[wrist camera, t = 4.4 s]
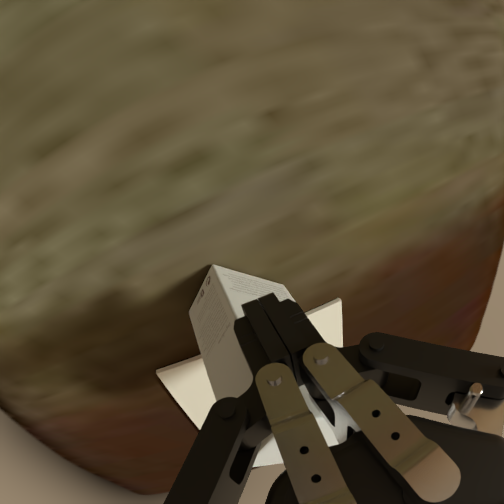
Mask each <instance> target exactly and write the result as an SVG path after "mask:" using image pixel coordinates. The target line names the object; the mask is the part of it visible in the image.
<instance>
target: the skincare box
mask: <svg viewBox="0 0 504 504" xmlns="http://www.w3.org/2000/svg"><path fill="white" fill-rule="evenodd" d="M272 292H273V293H274V294H275V295H276V297H277V298H278V300H279V301H280V302H281V301H283V300H286V299H290V300H292V301H294V302H295V300H294V299H293V298H292V296H291V295H290V293H289V292H288V291H287V289H286V288H285V287H284V285H282V284H279V283H275V282H272V281H268V280H265V279H261V278H258V277H254V276H251V275H247V274H244V273H240V272H237V271H234V270H230V269H227V268H223V267H220V266H217V265H212V266H211V268H210V270H209V272H208V274H207V276H206V278H205V280H204V282H203V284H202V286H201V288H200V290H199V292H198V294H197V296H196V298H195V300H194V302H193V304H192V306H191V308H190V310H189V316H190V319H191V322H192V326H193V329H194V333H195V336H196V339H197V343H198V346H199V349H200V352H201V356H202V359H203V362H204V365H205V368H206V371H207V375H208V378H209V381H210V384H211V387H212V390H213V393H214V396H215V399H216V401H218V400H220V399H222V398H225V397H235V398H238V397H239V396H240V395H242V394H243V393H244V392H246V391H247V390H248V388H249V387H250V386H251V384H252V381H253V376H252V373H251V371H250V369H249V366H248V364H247V362H246V360H245V357H244V355H243V353H242V351H241V348H240V345H239V343H238V340H237V338H236V335H235V332H234V330H233V329H234V321H235V320H236V319H238V318H241V317H244V313H243V310H242V306H241V305H242V304H244V303H247V302H250V301H252V300H255V299H257V300H258V298H259V297H262V296H264V295H267V294H269V293H272ZM299 389H300V391H301V393H302V396H303V398H304V400H305V402H306V404H307V406H308V409H309V410H310V412H312V413H313V415H314V417H315V419H316V421H317V423H318V425H319V427H320V430H321V432H322V434H323V436H324V438H325V440H326V442H327V445H328V447H329V446H333V445H338V444H339V443H338V441H337V440H336V437H335V435H334V433H333V431H332V429H331V428H330V426H329V425H328V424H327V422H326V421H325V419H324V418H323V417H322V415H321V414H320V412H319V411H318V410H317V408H316V407H315V406H314V404H313V403H312V401H311V400H310V398H309V393H308V390H307V388H306V387H305V385H302V386H300V387H299ZM280 463H284V462H283V460H282V457H281V454H280V451H279V449H278V446H277V443H276V440H275V438H274V435H273V433H271V434H270V435H269V436H268V437H267V438H265V439H264V440H263V441H262V443H261V446H260V449H259V451H258V454H257V457H256V459H255V462H254V464H253V467H257V466H265V465H273V464H280Z"/></svg>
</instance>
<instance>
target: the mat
mask: <svg viewBox="0 0 504 504" xmlns="http://www.w3.org/2000/svg"><path fill="white" fill-rule="evenodd" d="M305 314H306V316H307V317H308V319H309V320H310V321H311V323H312V324H313V325H314V327H315V328H316V329H317V331H318V332H319V334H320V335H321V336H322V338H323V339H324V340H325V341H326V342H327V343H328V344H331V345H333V346H335V347H343V335H342V304H341V299H340V298H337V299H335V300H333V301H330V302H328V303H326V304H324V305H321V306H319V307H317V308H315V309H312V310H310V311H308V312H306V313H305ZM156 374H157V375H158V377H159V378H160V380H161V381H162V382H163V384H164V385H165V386H166V388H167V389H168V390H169V392H170V393H171V394H172V396H173V397H174V398H175V400H176V401H177V402H178V404H179V405H180V406H181V407H182V409H183V410H184V411H185V412H186V414H187V415H188V416H189V417H190V419H191V420H192V421H193V422H194V424H195V425H196V426H197V427H198V428H199V430H200V429H201V427H202V425H203V423H204V421H205V419H206V417H207V415H208V413H209V411H210V408H211V407H212V405H213V404H214V403H215V402H216V399H215V396H214V393H213V390H212V387H211V384H210V381H209V378H208V375H207V371H206V368H205V365H204V362H203V359H202V356H201V354H200V355H198V356H195V357H192V358H189V359H187V360H184V361H181V362H178V363H175V364H172V365H169V366H166V367H163V368H160V369H157V370H156Z"/></svg>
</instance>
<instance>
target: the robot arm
mask: <svg viewBox="0 0 504 504" xmlns="http://www.w3.org/2000/svg"><path fill="white" fill-rule="evenodd" d="M241 306H242V310H243V313H244V317H241V318H238V319H236V320H235V321H234V329H233V330H234V332H235V335H236V338H237V340H238V343H239V345H240V348H241V351H242V353H243V355H244V357H245V360H246V362H247V364H248V366H249V369H250V371H251V373H252V376H253V381H252V384H251V386H250V387H249V388H248V390H247V391H246V392H244V393H243V394H242V395H240V396H239V397H238V398H235V397H225V398H222V399H220V400H218V401H216V402H215V403H214V404H213V405H212V407H211V408H210V411H209V413H208V415H207V417H206V419H205V421H204V423H203V425H202V427H201V429H200V431H199V433H198V435H197V437H196V439H195V442H194V444H193V446H192V448H191V450H190V452H189V454H188V456H187V458H186V460H185V462H184V464H183V466H182V468H181V470H180V472H179V474H178V476H177V478H176V480H175V482H174V484H173V486H172V488H171V490H170V492H169V494H168V496H167V498H166V500H165V502H164V504H238V502H239V499H240V497H241V494H242V492H243V490H244V487H245V484H246V482H247V480H248V477H249V475H250V472H251V470H252V467H253V464H254V462H255V459H256V457H257V454H258V451H259V449H260V446H261V443H262V441H263V440H264V439H265V438H267V437H268V436H269V435H270V434H271V433H273V435H274V438H275V440H276V443H277V446H278V449H279V451H280V454H281V457H282V460H283V462H284V465H285V467H286V470H285V471H284V472H283V473H281V474H280V476H279V477H278V478H277V479H276V480H275V482H274V483H273V485H272V487H271V488H270V491H269V493H268V496H267V499H266V502H265V504H504V438H503V437H502V431H503V425H504V357H499V356H494V355H488V354H482V353H477V352H471V351H466V350H461V349H456V348H451V347H446V346H441V345H436V344H431V343H426V342H421V341H416V340H412V339H407V338H402V337H398V336H393V335H389V334H384V333H379V332H375V333H370V334H368V335H366V336H364V337H363V338H362V339H361V341H360V344H359V345H354V346H349V347H335V346H333V345H331V344H328V343H327V342H326V341H325V340H324V339H323V338H322V336H321V335H320V334H319V332H318V331H317V329H316V328H315V327H314V325H313V324H312V323H311V321H310V320H309V319H308V317H307V316H306V314H305V313H304V312H303V310H302V309H301V308H300V306H299V305H298V304H297V303H296V302H294V301H292V300H290V299H286V300H283V301H281V302H280V301H279V300H278V298H277V297H276V295H275V294H274V293H273V292H272V293H269V294H267V295H264V296H262V297H259V298H258V300H257V299H255V300H252V301H250V302H247V303H244V304H242V305H241ZM302 385H305V387H306V388H307V390H308V393H309V398H310V400H311V401H312V403H313V404H314V406H315V407H316V408H317V410H318V411H319V412H320V414H321V415H322V417H323V418H324V419H325V421H326V422H327V424H328V425H329V426H330V428H331V429H332V431H333V433H334V435H335V437H336V440H337V441H338V443H339V444H338V445H333V446H329V447H328V445H327V442H326V440H325V438H324V436H323V434H322V432H321V430H320V427H319V425H318V423H317V421H316V419H315V417H314V415H313V413H312V412H310V410H309V409H308V406H307V404H306V402H305V400H304V398H303V396H302V393H301V391H300V389H299V387H300V386H302ZM396 404H399V405H403V406H407V407H412V408H416V409H420V410H425V411H429V412H434V413H438V414H443V415H447V418H448V420H449V422H450V423H451V425H449V424H445V423H441V422H437V421H433V420H429V419H425V418H421V417H417V416H412V415H405V414H404V413H403V412H402V411H401V410H400V409H399V407H398V406H397V405H396Z"/></svg>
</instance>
